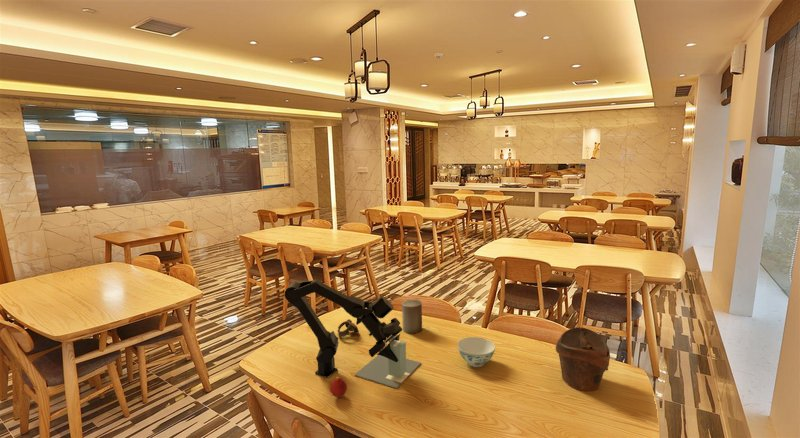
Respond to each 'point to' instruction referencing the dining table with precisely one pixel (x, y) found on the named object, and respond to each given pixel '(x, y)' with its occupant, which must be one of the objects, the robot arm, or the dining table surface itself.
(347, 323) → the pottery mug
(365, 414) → the dining table surface
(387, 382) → the mat
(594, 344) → the brown flower pot
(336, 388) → the pomegranate
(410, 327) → the pillar candle
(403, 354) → the block
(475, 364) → the chinaware
